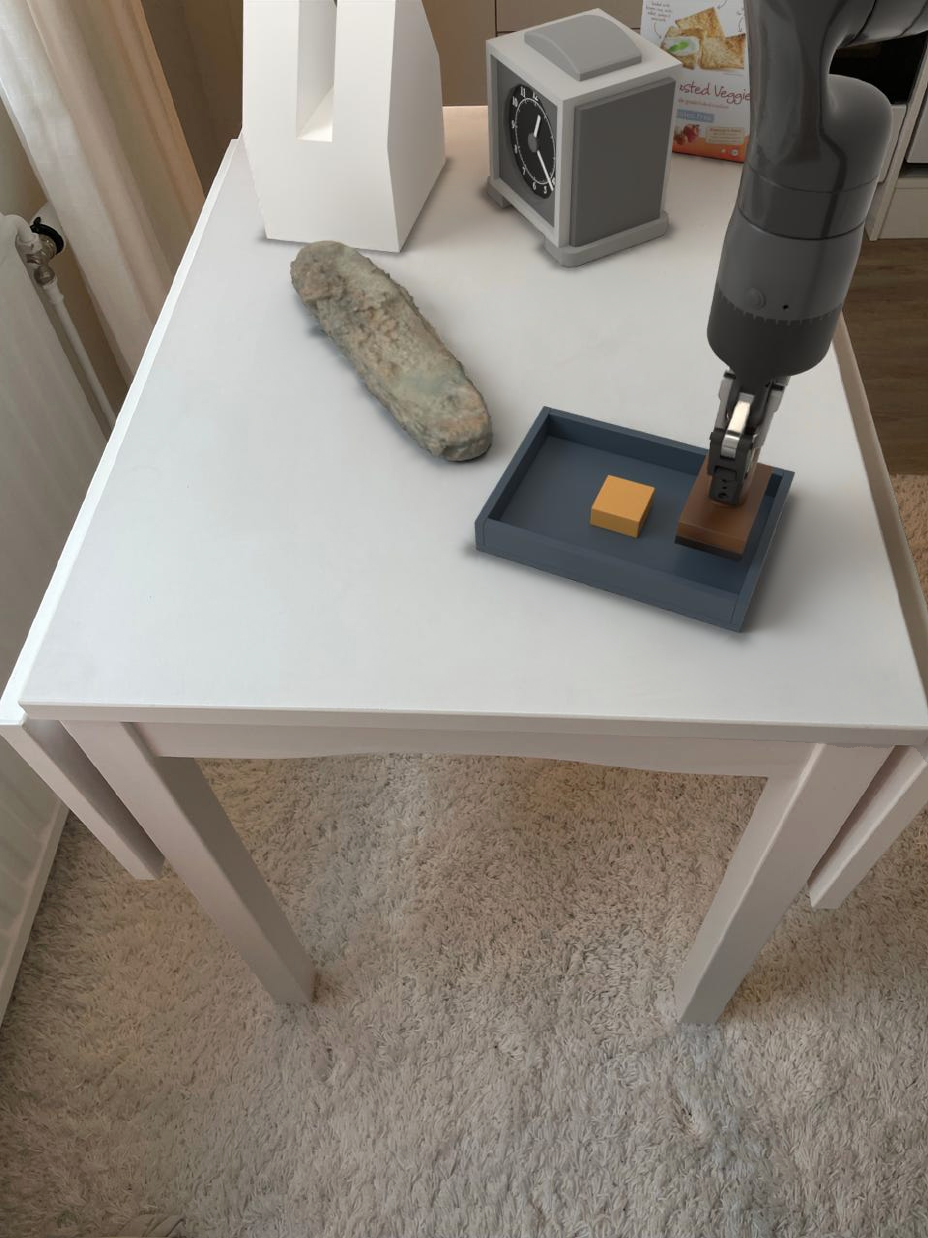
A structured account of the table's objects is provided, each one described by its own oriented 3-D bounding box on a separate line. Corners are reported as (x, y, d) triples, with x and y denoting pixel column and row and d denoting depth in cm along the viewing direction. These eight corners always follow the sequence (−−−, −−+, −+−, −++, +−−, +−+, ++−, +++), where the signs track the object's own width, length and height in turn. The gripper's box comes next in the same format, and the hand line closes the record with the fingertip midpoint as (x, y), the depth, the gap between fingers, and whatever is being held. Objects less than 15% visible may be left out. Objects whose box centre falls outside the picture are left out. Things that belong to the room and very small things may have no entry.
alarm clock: (483, 189, 109) (476, 13, 95) (581, 157, 113) (590, -19, 98) (566, 269, 99) (573, 86, 85) (671, 231, 102) (696, 48, 88)
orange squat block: (652, 504, 78) (655, 487, 77) (637, 538, 76) (639, 521, 74) (606, 491, 79) (608, 474, 78) (589, 524, 77) (591, 507, 76)
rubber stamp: (766, 489, 74) (792, 405, 67) (739, 562, 70) (763, 481, 63) (703, 472, 76) (722, 388, 69) (673, 543, 71) (690, 461, 65)
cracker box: (627, 148, 113) (645, -57, 96) (641, 123, 117) (661, -79, 100) (745, 165, 110) (786, -44, 93) (756, 140, 113) (797, -67, 96)
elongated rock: (423, 495, 83) (520, 456, 86) (422, 451, 79) (525, 412, 82) (268, 276, 100) (354, 250, 103) (260, 230, 96) (350, 205, 99)
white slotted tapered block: (325, 150, 117) (283, -95, 96) (446, 160, 114) (429, -89, 94) (267, 238, 106) (207, -17, 86) (399, 252, 103) (369, -8, 83)
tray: (786, 500, 79) (795, 471, 76) (739, 632, 71) (747, 606, 68) (543, 433, 85) (543, 405, 82) (475, 549, 77) (473, 521, 75)
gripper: (821, 363, 51) (756, 566, 65) (871, 225, 59) (803, 434, 73) (685, 332, 53) (651, 535, 67) (750, 202, 61) (706, 410, 75)
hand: (730, 482), depth 70 cm, fingers closed on rubber stamp, 3 cm apart
